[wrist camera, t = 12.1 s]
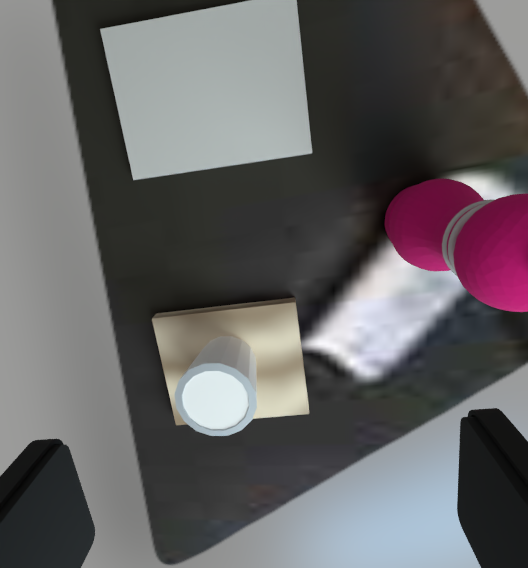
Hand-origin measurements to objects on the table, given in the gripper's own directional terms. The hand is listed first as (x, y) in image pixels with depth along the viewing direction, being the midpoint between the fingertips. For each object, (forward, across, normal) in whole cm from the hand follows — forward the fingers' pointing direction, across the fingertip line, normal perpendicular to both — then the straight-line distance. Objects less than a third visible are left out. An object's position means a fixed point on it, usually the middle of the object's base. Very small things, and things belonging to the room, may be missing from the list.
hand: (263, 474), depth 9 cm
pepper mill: (+29, -13, 0) cm, 32 cm away
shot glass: (+27, +6, +11) cm, 30 cm away
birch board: (+28, +6, +12) cm, 31 cm away
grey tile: (+29, +4, -13) cm, 32 cm away
